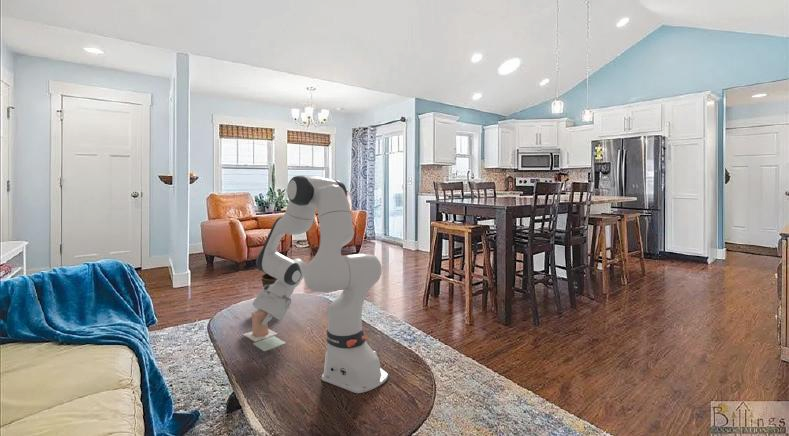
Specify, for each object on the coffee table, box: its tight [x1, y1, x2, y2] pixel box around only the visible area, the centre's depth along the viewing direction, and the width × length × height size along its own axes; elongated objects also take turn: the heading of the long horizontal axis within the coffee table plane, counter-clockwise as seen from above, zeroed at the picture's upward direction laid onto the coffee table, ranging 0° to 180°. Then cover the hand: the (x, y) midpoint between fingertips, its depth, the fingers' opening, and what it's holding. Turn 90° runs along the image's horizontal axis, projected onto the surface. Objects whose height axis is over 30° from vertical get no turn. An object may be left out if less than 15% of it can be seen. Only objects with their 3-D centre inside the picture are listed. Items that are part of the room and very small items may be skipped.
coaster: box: [252, 335, 287, 352], centre depth 148 cm, size 9×9×1 cm
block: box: [251, 310, 269, 337], centre depth 156 cm, size 4×4×9 cm
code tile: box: [242, 328, 278, 343], centre depth 157 cm, size 10×10×1 cm
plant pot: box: [261, 273, 278, 288], centre depth 188 cm, size 15×15×16 cm
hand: (258, 322), depth 156 cm, fingers closed on block, 4 cm apart
